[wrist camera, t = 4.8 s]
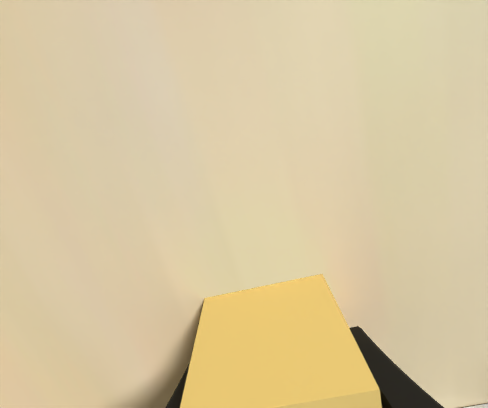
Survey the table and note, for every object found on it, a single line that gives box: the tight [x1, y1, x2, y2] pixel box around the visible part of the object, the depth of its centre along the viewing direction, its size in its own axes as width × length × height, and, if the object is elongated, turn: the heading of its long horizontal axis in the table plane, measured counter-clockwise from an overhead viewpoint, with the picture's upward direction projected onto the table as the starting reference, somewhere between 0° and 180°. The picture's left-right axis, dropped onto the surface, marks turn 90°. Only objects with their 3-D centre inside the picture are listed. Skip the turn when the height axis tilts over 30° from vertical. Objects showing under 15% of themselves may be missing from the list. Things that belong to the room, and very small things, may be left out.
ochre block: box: [180, 274, 382, 408], centre depth 10 cm, size 5×5×5 cm
